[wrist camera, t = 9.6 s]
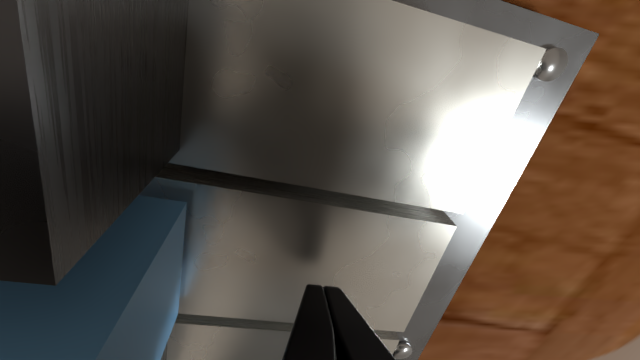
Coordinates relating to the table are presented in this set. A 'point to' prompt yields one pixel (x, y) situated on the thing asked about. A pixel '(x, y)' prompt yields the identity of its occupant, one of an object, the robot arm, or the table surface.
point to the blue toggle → (104, 294)
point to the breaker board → (276, 148)
